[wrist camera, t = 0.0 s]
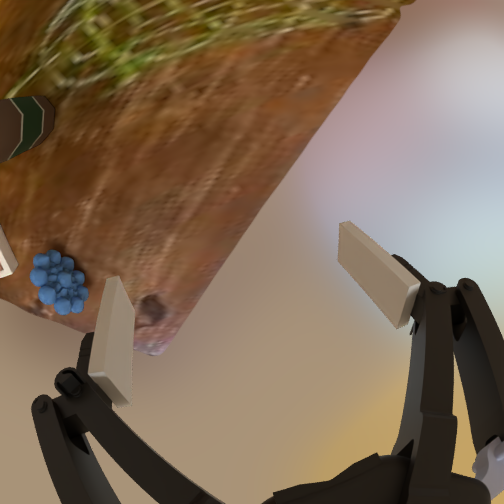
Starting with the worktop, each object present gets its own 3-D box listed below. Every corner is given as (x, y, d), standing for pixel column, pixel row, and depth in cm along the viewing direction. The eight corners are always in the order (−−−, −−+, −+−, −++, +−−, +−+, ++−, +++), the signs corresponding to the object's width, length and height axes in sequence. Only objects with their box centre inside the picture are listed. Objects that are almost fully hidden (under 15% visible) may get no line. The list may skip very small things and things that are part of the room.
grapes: (34, 247, 38) (6, 290, 28) (58, 227, 38) (31, 268, 28) (75, 295, 45) (60, 343, 35) (100, 278, 45) (88, 327, 35)
